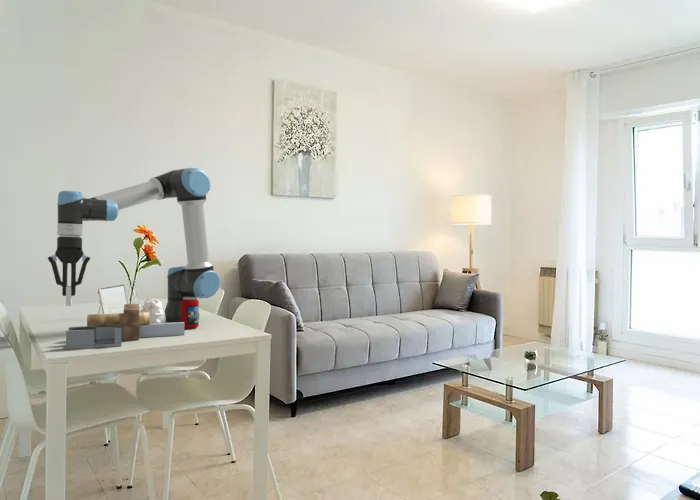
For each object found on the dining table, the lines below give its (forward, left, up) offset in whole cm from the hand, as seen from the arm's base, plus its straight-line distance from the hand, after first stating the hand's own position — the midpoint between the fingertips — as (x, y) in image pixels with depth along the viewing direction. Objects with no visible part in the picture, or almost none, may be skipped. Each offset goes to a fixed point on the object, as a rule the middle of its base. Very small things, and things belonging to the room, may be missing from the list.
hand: (68, 305), depth 176 cm
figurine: (-30, +10, -13) cm, 34 cm away
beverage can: (-37, +22, -13) cm, 45 cm away
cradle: (+2, +14, -12) cm, 18 cm away
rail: (-15, +17, -12) cm, 26 cm away
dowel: (-11, +12, -6) cm, 17 cm away
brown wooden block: (-15, +13, -12) cm, 23 cm away
